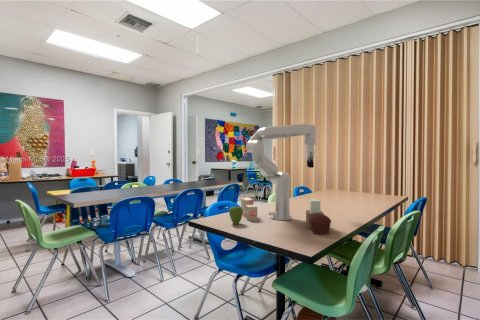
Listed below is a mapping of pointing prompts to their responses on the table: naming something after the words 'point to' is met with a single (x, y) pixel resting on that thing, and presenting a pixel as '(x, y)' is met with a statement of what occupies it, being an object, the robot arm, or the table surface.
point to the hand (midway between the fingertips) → (310, 167)
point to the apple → (236, 214)
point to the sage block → (314, 206)
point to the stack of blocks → (249, 209)
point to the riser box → (309, 215)
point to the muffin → (320, 224)
